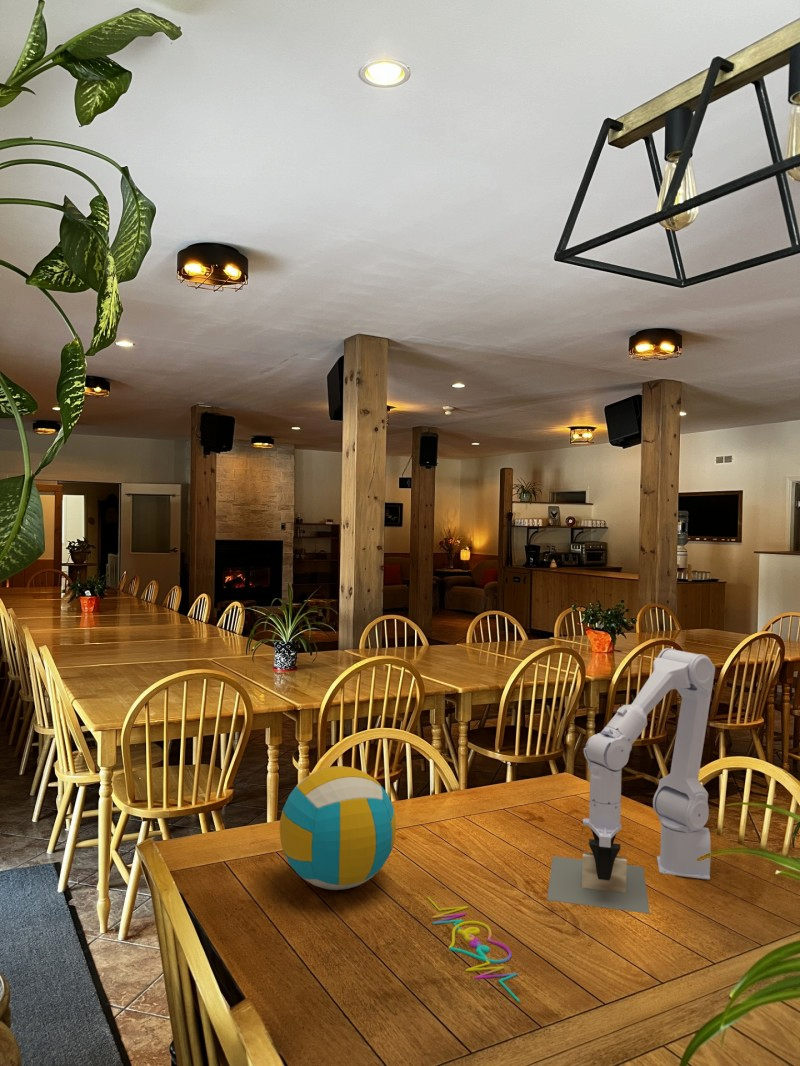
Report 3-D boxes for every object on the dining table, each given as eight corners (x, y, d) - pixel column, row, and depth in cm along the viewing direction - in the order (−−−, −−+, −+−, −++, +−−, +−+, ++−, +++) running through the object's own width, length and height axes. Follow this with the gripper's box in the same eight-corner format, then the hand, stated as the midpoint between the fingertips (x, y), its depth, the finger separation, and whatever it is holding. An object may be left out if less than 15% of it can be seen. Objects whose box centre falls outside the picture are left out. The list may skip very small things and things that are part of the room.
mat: (643, 868, 162) (643, 866, 162) (649, 915, 142) (649, 913, 142) (552, 857, 166) (552, 856, 166) (546, 902, 146) (546, 899, 146)
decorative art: (496, 1009, 114) (556, 994, 118) (497, 1004, 114) (556, 989, 118) (404, 904, 145) (454, 894, 149) (404, 899, 145) (454, 890, 149)
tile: (625, 888, 152) (626, 856, 152) (625, 893, 150) (626, 861, 150) (582, 882, 154) (583, 851, 154) (582, 887, 152) (582, 856, 152)
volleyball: (414, 899, 146) (416, 779, 146) (298, 921, 137) (300, 794, 137) (369, 853, 166) (371, 747, 166) (265, 869, 157) (267, 758, 157)
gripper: (584, 784, 160) (582, 852, 160) (582, 810, 145) (581, 884, 146) (620, 788, 158) (619, 856, 158) (623, 814, 144) (621, 889, 144)
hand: (603, 870), depth 152 cm, fingers open, 7 cm apart
